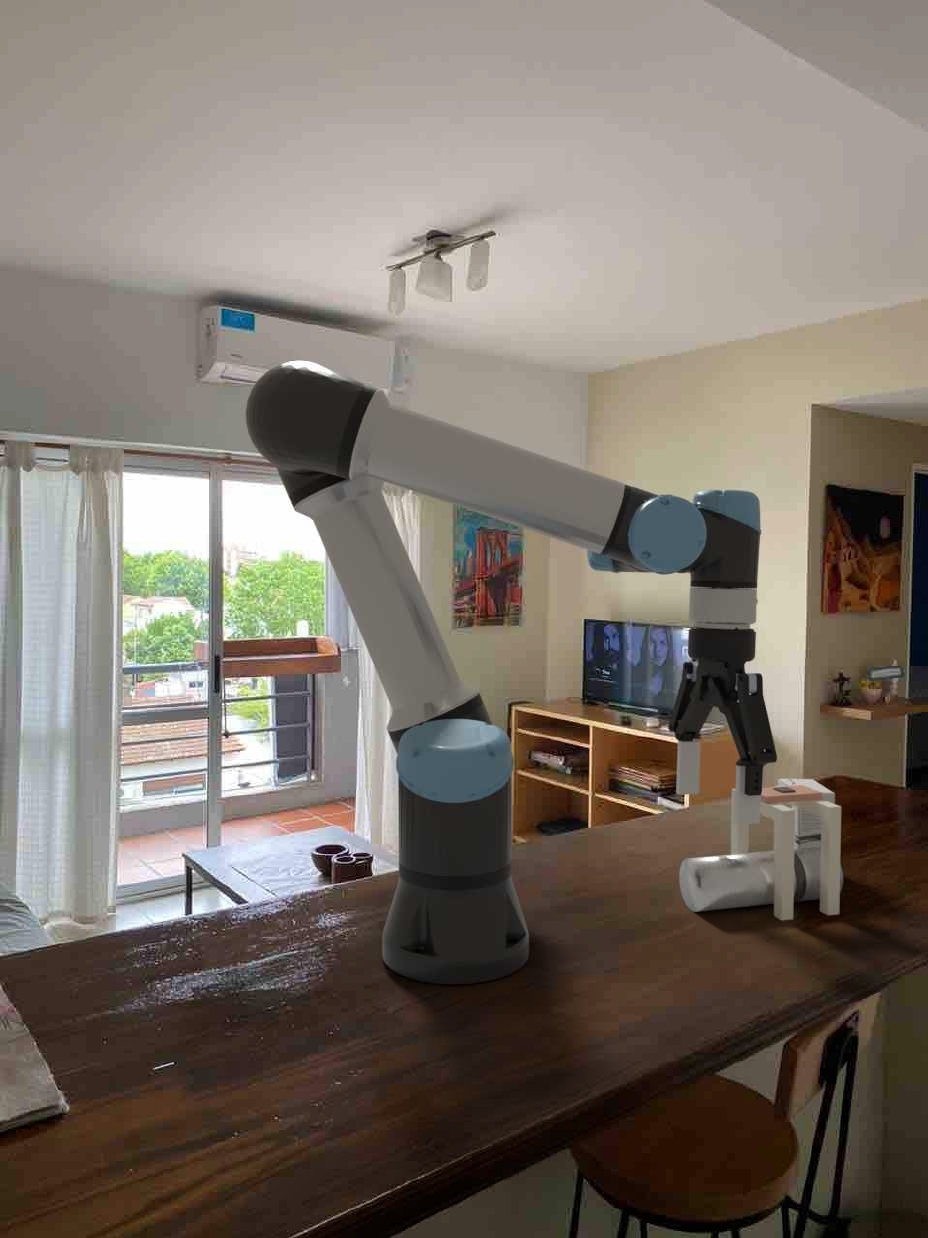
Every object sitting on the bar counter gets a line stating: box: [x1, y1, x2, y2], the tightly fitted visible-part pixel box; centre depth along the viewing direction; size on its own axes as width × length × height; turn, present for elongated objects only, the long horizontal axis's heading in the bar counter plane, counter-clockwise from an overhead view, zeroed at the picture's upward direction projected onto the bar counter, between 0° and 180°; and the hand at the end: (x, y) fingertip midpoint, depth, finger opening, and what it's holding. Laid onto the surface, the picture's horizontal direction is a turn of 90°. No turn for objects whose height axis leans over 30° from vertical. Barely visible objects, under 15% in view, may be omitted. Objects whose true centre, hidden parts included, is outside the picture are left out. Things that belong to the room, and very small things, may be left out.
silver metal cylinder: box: [678, 847, 844, 913], centre depth 111 cm, size 18×6×6 cm, turn 104°
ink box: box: [777, 778, 836, 849], centre depth 122 cm, size 9×5×12 cm, turn 179°
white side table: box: [730, 785, 842, 921], centre depth 112 cm, size 8×11×14 cm
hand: (715, 808), depth 109 cm, fingers open, 13 cm apart
